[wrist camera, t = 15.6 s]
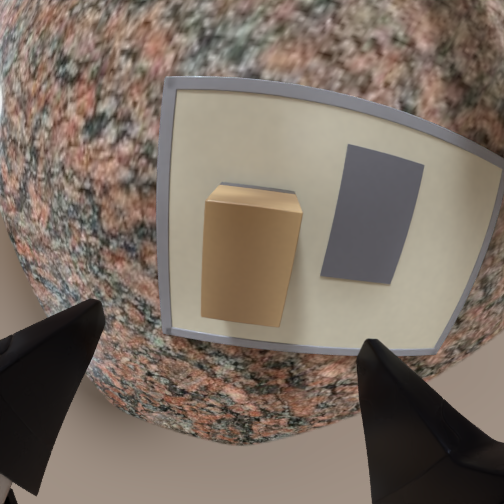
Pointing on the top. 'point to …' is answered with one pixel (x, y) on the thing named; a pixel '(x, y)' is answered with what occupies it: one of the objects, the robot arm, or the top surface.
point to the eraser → (248, 253)
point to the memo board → (327, 212)
